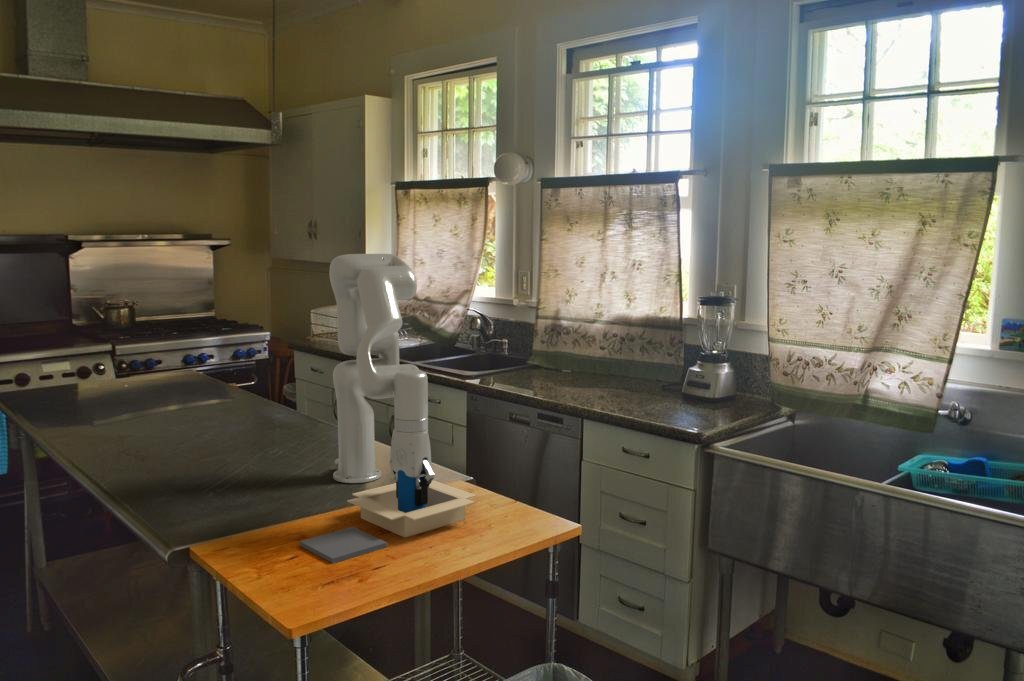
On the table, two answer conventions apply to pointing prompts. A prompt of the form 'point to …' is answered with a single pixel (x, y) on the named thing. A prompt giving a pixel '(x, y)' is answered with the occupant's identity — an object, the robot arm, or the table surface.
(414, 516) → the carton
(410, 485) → the beverage can
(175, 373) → the table surface
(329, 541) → the mat
